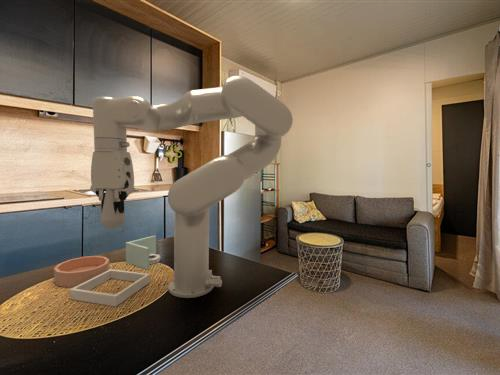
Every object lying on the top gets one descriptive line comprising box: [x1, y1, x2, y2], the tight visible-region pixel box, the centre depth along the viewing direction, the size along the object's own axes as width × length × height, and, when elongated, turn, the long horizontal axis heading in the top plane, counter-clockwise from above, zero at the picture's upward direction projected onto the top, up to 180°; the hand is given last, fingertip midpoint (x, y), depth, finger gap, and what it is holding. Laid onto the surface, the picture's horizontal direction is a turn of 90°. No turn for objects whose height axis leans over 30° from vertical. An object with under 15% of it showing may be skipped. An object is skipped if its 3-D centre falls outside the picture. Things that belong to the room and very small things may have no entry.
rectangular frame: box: [69, 268, 151, 307], centre depth 68 cm, size 14×14×2 cm
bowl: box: [53, 255, 111, 288], centre depth 76 cm, size 14×14×4 cm
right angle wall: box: [125, 235, 162, 270], centre depth 91 cm, size 12×12×8 cm
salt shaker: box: [100, 189, 126, 229], centre depth 67 cm, size 6×6×13 cm
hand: (113, 214), depth 67 cm, fingers closed on salt shaker, 3 cm apart
